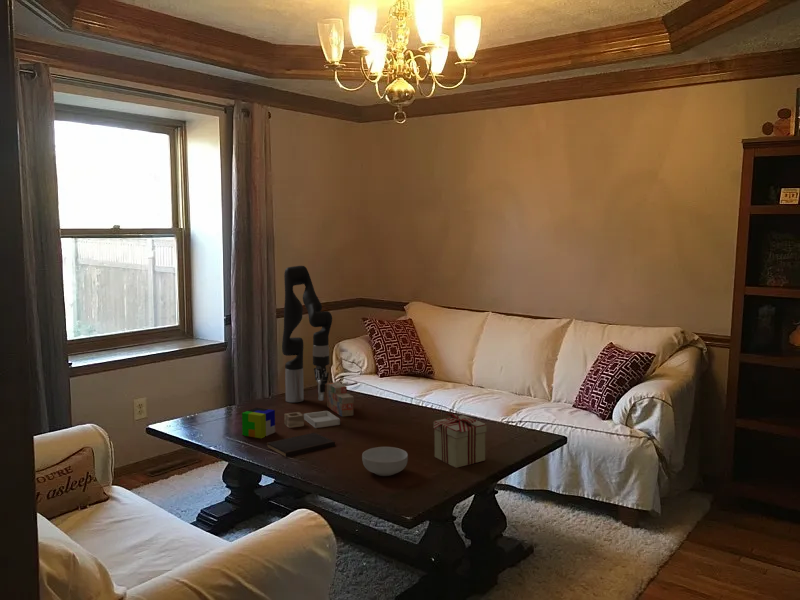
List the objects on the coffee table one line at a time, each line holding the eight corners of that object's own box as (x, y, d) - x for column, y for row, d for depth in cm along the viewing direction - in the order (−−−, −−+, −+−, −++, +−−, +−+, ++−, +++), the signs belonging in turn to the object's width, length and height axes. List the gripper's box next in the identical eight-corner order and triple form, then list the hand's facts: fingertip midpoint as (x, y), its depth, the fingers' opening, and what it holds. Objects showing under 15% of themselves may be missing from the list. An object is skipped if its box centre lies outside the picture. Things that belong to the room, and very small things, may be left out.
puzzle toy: (275, 432, 296) (274, 410, 295) (261, 438, 287) (260, 415, 286) (256, 429, 300) (256, 407, 299) (242, 435, 291) (242, 413, 290)
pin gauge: (317, 399, 312) (317, 374, 310) (322, 398, 313) (322, 373, 311) (319, 400, 309) (319, 375, 308) (324, 400, 310) (324, 374, 309)
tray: (303, 419, 316) (303, 413, 316) (327, 416, 322) (327, 410, 322) (315, 428, 302) (315, 422, 302) (340, 424, 308) (340, 419, 307)
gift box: (425, 459, 262) (426, 416, 260) (460, 450, 273) (461, 408, 271) (454, 471, 248) (455, 426, 246) (490, 461, 259) (491, 418, 258)
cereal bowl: (352, 474, 245) (352, 455, 244) (379, 461, 259) (379, 443, 258) (391, 484, 236) (391, 464, 235) (416, 470, 250) (416, 451, 249)
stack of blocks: (353, 415, 323) (353, 390, 322) (341, 417, 321) (341, 391, 319) (338, 405, 343) (338, 381, 341) (326, 406, 340) (326, 382, 339)
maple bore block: (284, 424, 309) (284, 413, 308) (298, 422, 312) (298, 411, 311) (289, 428, 302) (289, 417, 302) (303, 426, 306) (303, 415, 305)
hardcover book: (266, 448, 276) (266, 442, 276) (314, 437, 290) (314, 432, 290) (285, 458, 263) (285, 452, 263) (335, 447, 278) (335, 441, 277)
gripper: (308, 352, 313) (308, 389, 315) (318, 357, 301) (318, 395, 303) (323, 351, 317) (323, 387, 318) (334, 356, 304) (334, 393, 306)
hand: (321, 391), depth 311 cm, fingers closed on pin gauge, 2 cm apart
